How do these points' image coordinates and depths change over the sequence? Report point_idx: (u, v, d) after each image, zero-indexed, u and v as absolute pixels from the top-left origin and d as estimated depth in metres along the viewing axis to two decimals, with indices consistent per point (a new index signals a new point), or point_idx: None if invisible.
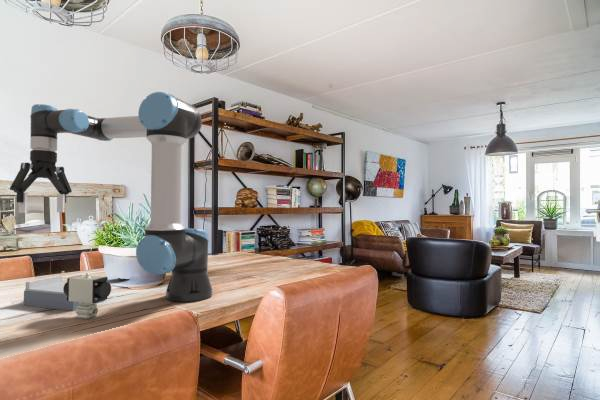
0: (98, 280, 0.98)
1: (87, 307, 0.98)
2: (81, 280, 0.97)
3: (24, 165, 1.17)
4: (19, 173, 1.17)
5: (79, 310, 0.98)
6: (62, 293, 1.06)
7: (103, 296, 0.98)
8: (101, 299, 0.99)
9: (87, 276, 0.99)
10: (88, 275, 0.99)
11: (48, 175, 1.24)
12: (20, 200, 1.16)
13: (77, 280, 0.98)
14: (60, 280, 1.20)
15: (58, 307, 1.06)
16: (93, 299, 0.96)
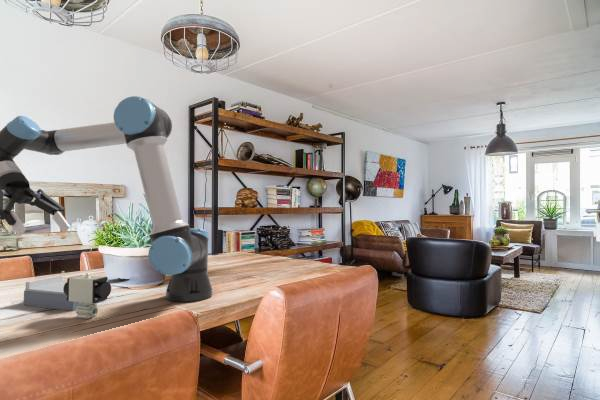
0: (98, 280, 0.98)
1: (87, 307, 0.98)
2: (81, 280, 0.97)
3: None
4: None
5: (79, 310, 0.98)
6: (62, 293, 1.06)
7: (103, 296, 0.98)
8: (101, 299, 0.99)
9: (87, 276, 0.99)
10: (88, 275, 0.99)
11: (28, 196, 1.09)
12: (11, 220, 0.98)
13: (77, 280, 0.98)
14: (60, 280, 1.20)
15: (58, 307, 1.06)
16: (93, 299, 0.96)
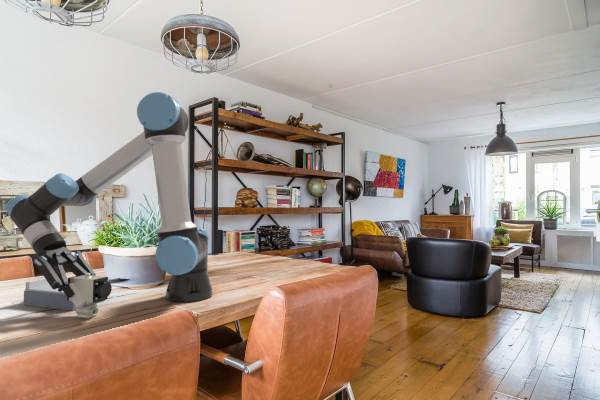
0: (99, 280, 0.98)
1: (87, 307, 0.98)
2: (82, 280, 0.97)
3: (38, 261, 0.97)
4: (43, 270, 0.96)
5: (79, 310, 0.98)
6: (62, 293, 1.06)
7: (103, 296, 0.98)
8: (101, 299, 0.99)
9: (88, 276, 0.99)
10: (89, 275, 1.00)
11: (66, 258, 1.03)
12: (70, 292, 0.96)
13: (78, 280, 0.98)
14: None
15: (58, 307, 1.06)
16: (93, 299, 0.96)
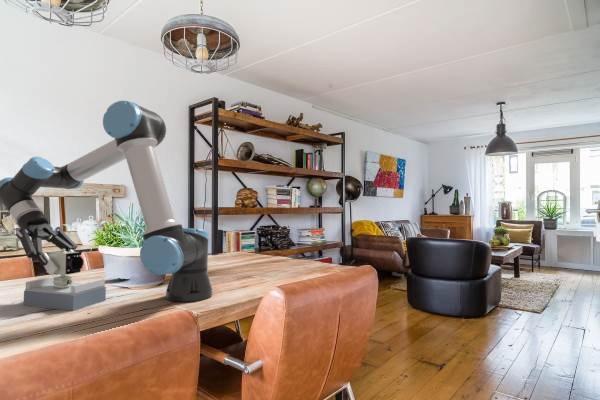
0: (71, 254, 1.10)
1: (61, 278, 1.10)
2: (56, 254, 1.10)
3: (20, 233, 1.10)
4: (22, 241, 1.09)
5: (55, 281, 1.11)
6: (62, 293, 1.06)
7: (75, 268, 1.10)
8: (74, 271, 1.11)
9: (63, 251, 1.12)
10: (64, 250, 1.12)
11: (47, 233, 1.17)
12: (43, 261, 1.08)
13: (53, 254, 1.11)
14: None
15: (58, 307, 1.06)
16: (66, 271, 1.09)
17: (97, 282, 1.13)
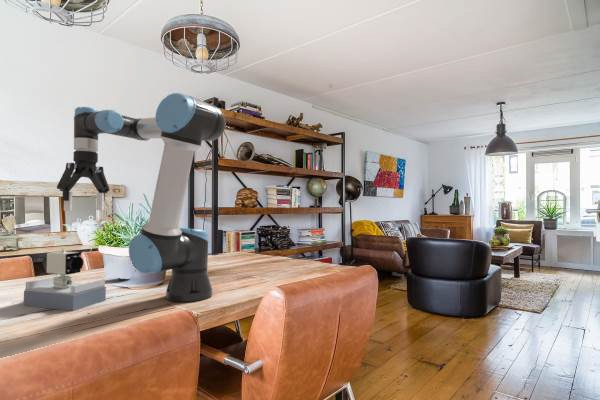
0: (71, 254, 1.10)
1: (61, 278, 1.10)
2: (56, 254, 1.10)
3: (69, 165, 1.23)
4: (65, 172, 1.22)
5: (55, 281, 1.11)
6: (62, 293, 1.06)
7: (75, 269, 1.10)
8: (74, 271, 1.11)
9: (62, 251, 1.12)
10: (63, 250, 1.12)
11: (90, 175, 1.30)
12: (66, 198, 1.21)
13: (53, 254, 1.11)
14: None
15: (58, 307, 1.06)
16: (66, 271, 1.09)
17: (97, 282, 1.13)
